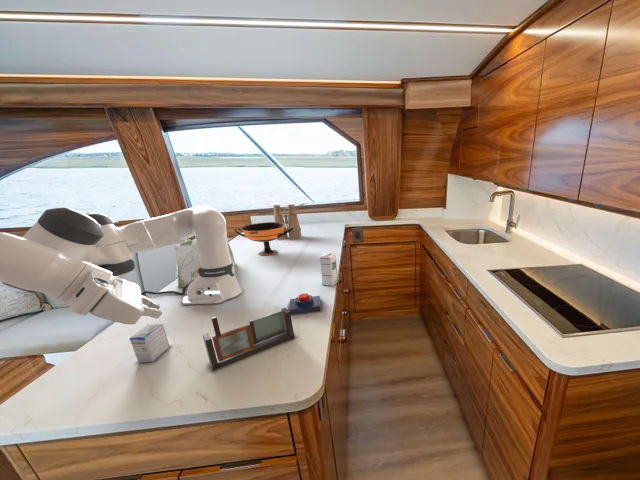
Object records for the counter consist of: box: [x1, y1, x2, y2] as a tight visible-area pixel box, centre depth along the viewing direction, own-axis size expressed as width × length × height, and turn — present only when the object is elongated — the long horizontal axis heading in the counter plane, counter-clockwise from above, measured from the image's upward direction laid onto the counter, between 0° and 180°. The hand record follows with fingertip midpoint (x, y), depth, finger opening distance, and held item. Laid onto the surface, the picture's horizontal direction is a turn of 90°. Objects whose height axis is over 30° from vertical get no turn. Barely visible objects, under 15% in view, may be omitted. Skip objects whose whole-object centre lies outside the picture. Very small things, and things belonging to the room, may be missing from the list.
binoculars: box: [272, 204, 303, 240], centre depth 226 cm, size 21×10×25 cm, turn 93°
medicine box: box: [129, 323, 170, 363], centre depth 91 cm, size 8×4×9 cm, turn 5°
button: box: [297, 292, 310, 301], centre depth 119 cm, size 4×4×2 cm
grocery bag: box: [174, 235, 236, 288], centre depth 153 cm, size 32×14×23 cm, turn 4°
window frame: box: [201, 307, 295, 372], centre depth 92 cm, size 24×4×10 cm, turn 132°
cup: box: [234, 221, 293, 256], centre depth 190 cm, size 36×26×18 cm
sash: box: [210, 316, 255, 362], centre depth 87 cm, size 10×1×14 cm, turn 132°
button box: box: [287, 294, 321, 316], centre depth 120 cm, size 12×10×4 cm
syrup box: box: [318, 252, 339, 286], centre depth 141 cm, size 6×6×14 cm
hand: (159, 311), depth 73 cm, fingers open, 3 cm apart
